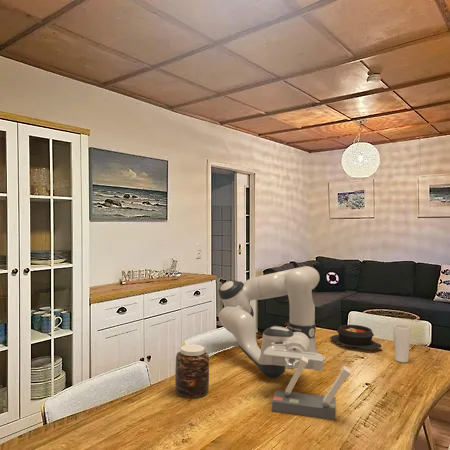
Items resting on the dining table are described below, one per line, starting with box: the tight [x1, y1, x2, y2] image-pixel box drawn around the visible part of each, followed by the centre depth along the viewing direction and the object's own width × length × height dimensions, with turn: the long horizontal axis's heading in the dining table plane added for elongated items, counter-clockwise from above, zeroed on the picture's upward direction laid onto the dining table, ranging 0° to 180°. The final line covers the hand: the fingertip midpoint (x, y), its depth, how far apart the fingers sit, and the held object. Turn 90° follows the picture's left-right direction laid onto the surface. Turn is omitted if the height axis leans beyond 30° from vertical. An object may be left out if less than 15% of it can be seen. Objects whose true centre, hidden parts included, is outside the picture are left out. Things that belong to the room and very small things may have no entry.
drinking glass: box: [393, 323, 412, 364], centre depth 173 cm, size 7×7×15 cm
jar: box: [174, 343, 210, 399], centre depth 139 cm, size 12×12×15 cm
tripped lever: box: [284, 356, 308, 397], centre depth 129 cm, size 4×2×13 cm, turn 164°
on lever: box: [323, 365, 352, 407], centre depth 122 cm, size 4×2×13 cm
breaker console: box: [271, 389, 337, 421], centre depth 127 cm, size 9×19×3 cm, turn 74°
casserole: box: [329, 324, 382, 351], centre depth 195 cm, size 25×19×8 cm
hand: (290, 367), depth 128 cm, fingers closed
